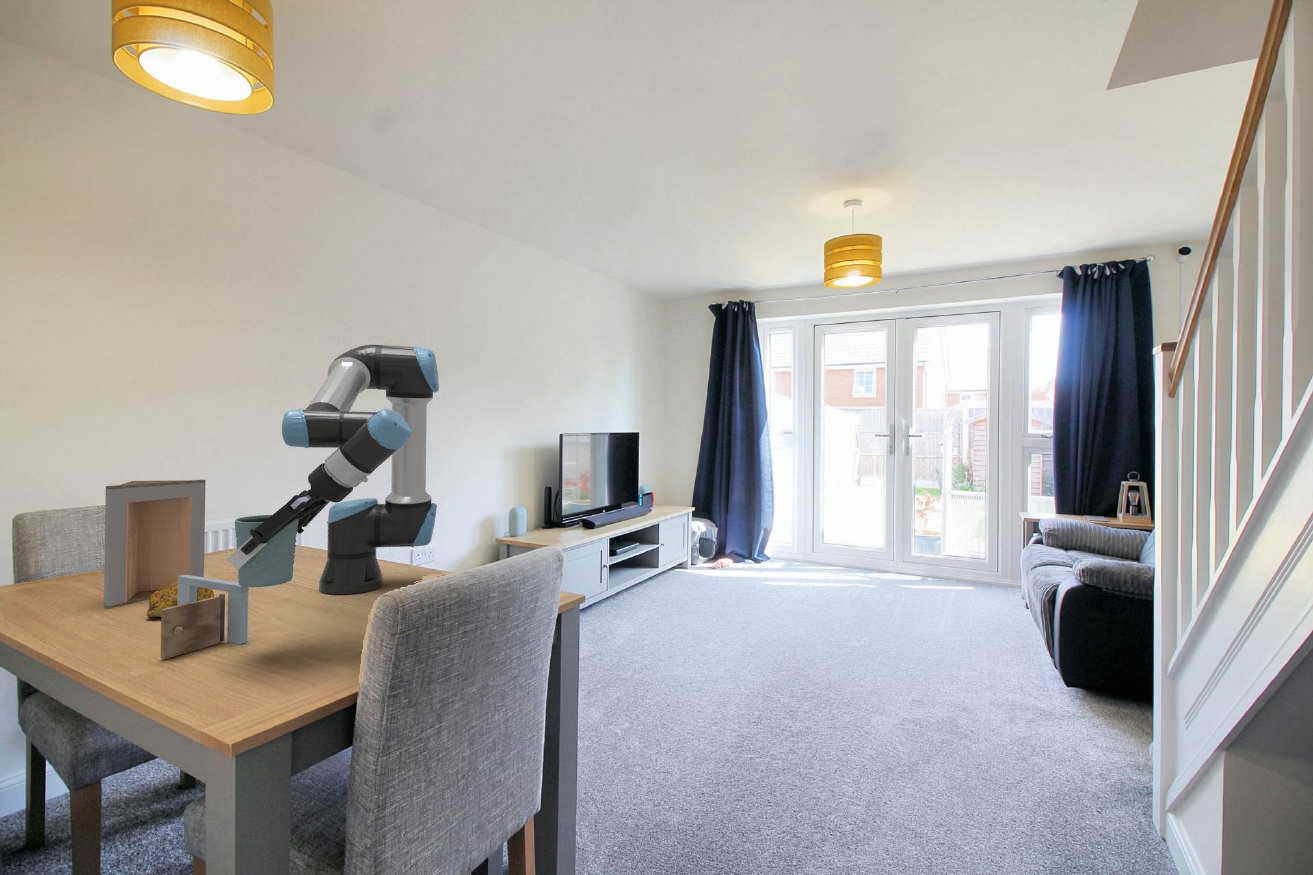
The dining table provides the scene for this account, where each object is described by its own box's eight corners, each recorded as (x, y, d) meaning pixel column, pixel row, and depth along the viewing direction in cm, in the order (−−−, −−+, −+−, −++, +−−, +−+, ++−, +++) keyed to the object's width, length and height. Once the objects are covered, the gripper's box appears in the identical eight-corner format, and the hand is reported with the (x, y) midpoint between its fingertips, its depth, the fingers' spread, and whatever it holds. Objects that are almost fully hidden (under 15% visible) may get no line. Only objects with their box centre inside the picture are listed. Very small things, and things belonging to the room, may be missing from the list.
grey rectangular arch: (247, 641, 119) (248, 584, 118) (239, 644, 117) (241, 586, 117) (184, 629, 124) (185, 574, 124) (176, 631, 123) (177, 576, 123)
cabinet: (108, 608, 136) (110, 486, 136) (81, 603, 139) (83, 484, 139) (203, 586, 156) (205, 479, 155) (178, 582, 159) (180, 477, 158)
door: (222, 640, 118) (223, 593, 118) (229, 641, 117) (230, 594, 117) (160, 658, 109) (161, 607, 109) (167, 660, 108) (168, 609, 108)
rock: (179, 637, 131) (137, 610, 127) (175, 633, 137) (135, 607, 133) (224, 595, 137) (186, 568, 133) (218, 593, 143) (182, 567, 139)
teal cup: (227, 590, 106) (228, 523, 106) (241, 576, 116) (241, 514, 115) (293, 585, 110) (294, 521, 110) (301, 572, 120) (302, 512, 119)
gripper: (327, 497, 103) (228, 587, 102) (374, 483, 125) (293, 557, 124) (295, 465, 102) (195, 556, 101) (348, 457, 125) (267, 531, 123)
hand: (249, 557), depth 112 cm, fingers closed on teal cup, 10 cm apart
